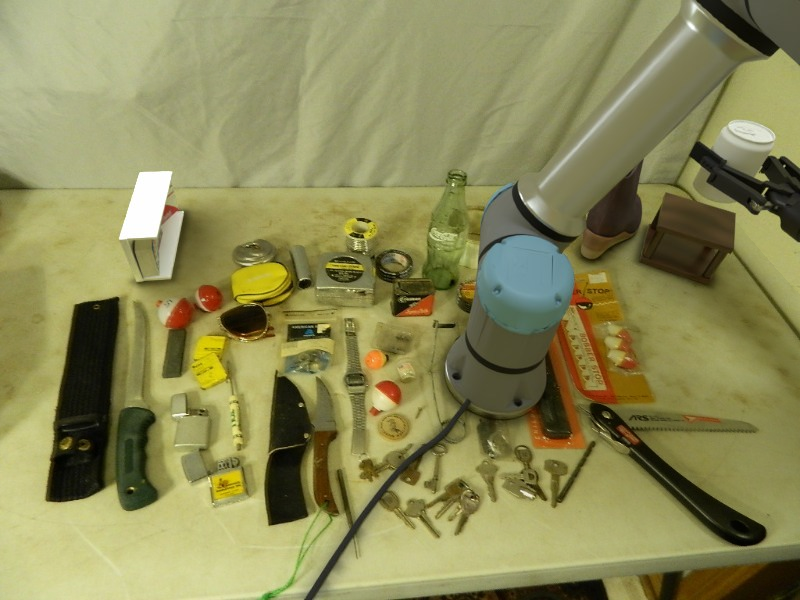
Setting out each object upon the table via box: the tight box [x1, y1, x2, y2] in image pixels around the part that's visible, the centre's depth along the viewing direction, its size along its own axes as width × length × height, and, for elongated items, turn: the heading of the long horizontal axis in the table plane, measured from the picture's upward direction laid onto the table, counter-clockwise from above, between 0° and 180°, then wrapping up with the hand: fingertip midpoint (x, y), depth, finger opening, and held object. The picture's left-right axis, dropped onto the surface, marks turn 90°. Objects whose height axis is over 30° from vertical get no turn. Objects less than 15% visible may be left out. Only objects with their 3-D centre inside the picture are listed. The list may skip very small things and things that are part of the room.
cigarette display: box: [118, 171, 185, 283], centre depth 93 cm, size 20×6×9 cm, turn 9°
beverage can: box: [692, 119, 776, 204], centre depth 89 cm, size 8×8×12 cm
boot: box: [580, 158, 645, 260], centre depth 101 cm, size 9×24×20 cm, turn 143°
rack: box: [638, 191, 737, 286], centre depth 101 cm, size 12×13×9 cm
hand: (714, 145), depth 92 cm, fingers closed on beverage can, 8 cm apart
